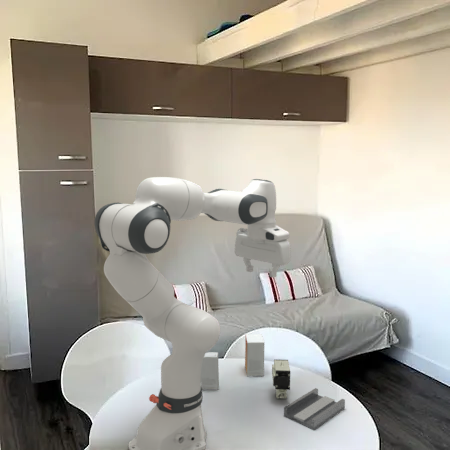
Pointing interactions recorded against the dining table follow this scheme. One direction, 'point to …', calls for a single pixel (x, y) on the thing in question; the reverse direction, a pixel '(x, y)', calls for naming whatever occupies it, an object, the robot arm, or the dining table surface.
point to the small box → (254, 354)
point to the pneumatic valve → (281, 377)
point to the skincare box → (210, 371)
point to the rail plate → (313, 409)
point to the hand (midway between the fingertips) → (261, 274)
